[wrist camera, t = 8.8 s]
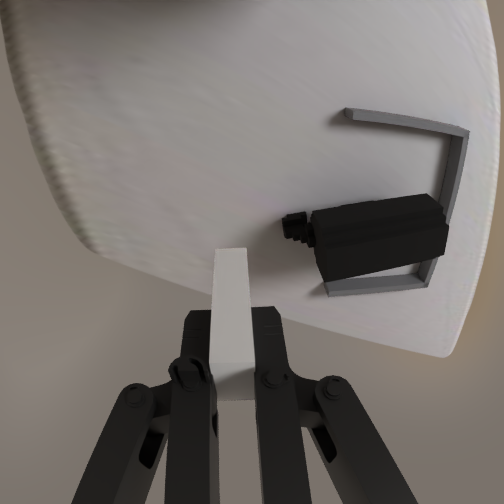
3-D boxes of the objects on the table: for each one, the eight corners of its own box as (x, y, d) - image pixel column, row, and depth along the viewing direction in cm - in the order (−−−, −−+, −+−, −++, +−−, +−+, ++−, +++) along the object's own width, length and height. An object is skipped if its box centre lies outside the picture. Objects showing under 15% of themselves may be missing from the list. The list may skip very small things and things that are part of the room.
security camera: (278, 198, 37) (293, 241, 28) (413, 178, 36) (456, 212, 28) (285, 246, 40) (299, 297, 32) (410, 224, 40) (446, 264, 31)
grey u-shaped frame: (345, 107, 31) (353, 110, 29) (458, 126, 32) (469, 131, 30) (324, 285, 45) (328, 296, 42) (420, 278, 46) (427, 287, 43)
